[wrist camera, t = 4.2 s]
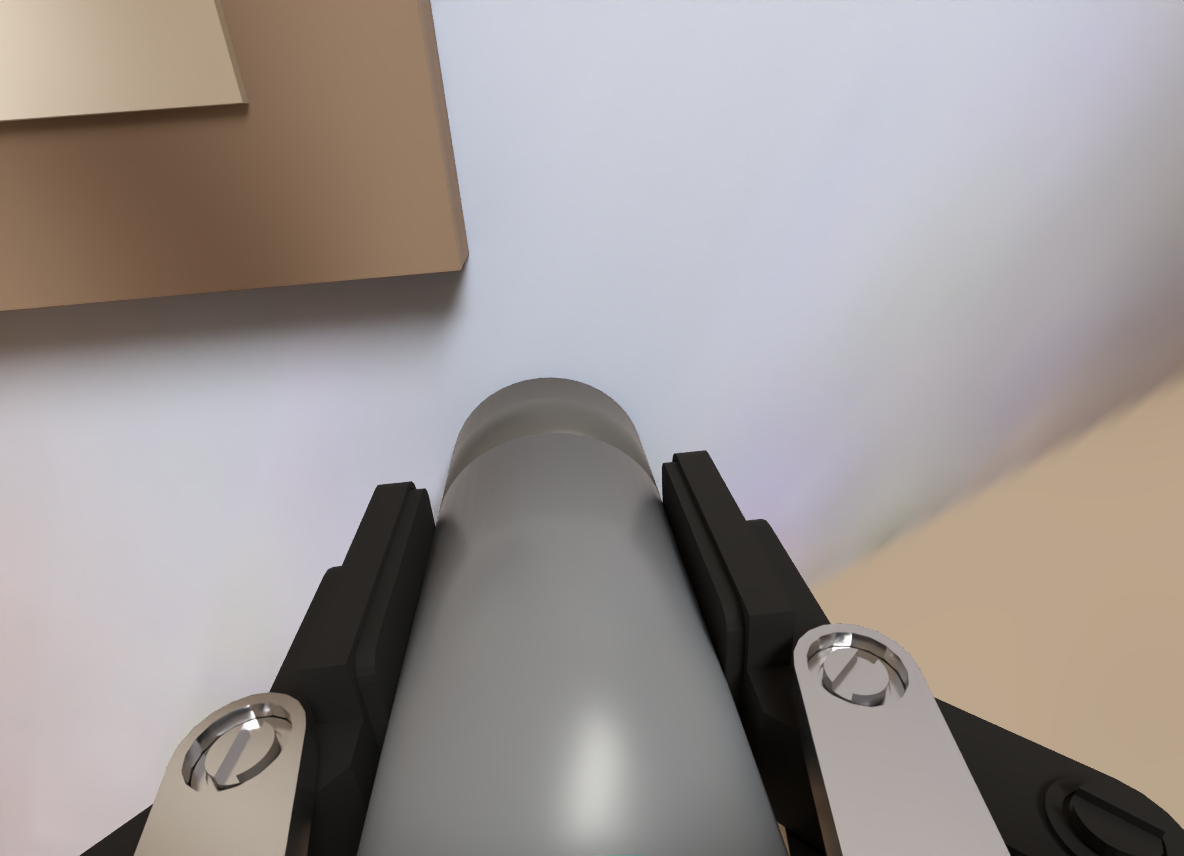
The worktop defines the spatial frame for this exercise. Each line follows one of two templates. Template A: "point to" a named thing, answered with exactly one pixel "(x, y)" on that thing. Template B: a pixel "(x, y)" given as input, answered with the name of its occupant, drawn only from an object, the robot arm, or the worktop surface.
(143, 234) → the writing board
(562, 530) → the marker
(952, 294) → the worktop surface
